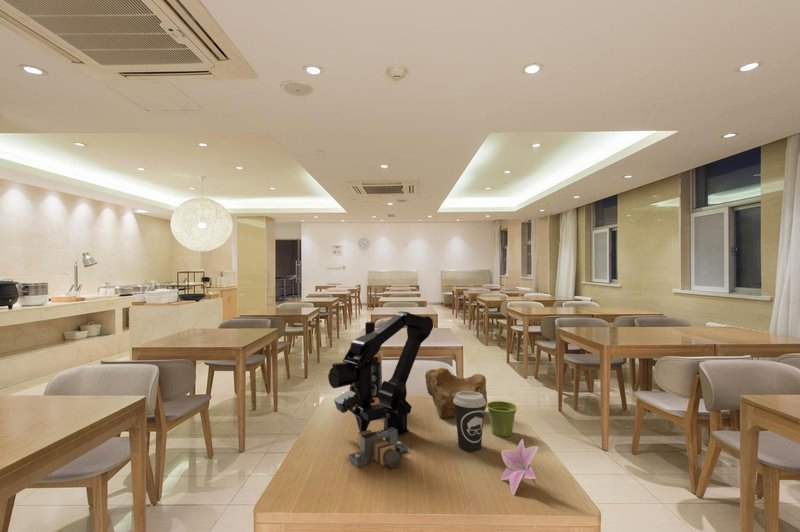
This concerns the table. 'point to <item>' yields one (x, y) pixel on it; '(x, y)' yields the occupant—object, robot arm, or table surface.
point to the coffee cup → (469, 419)
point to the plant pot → (501, 417)
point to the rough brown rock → (451, 389)
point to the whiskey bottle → (377, 368)
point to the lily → (518, 465)
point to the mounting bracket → (367, 445)
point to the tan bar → (383, 451)
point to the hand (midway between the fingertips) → (362, 434)
